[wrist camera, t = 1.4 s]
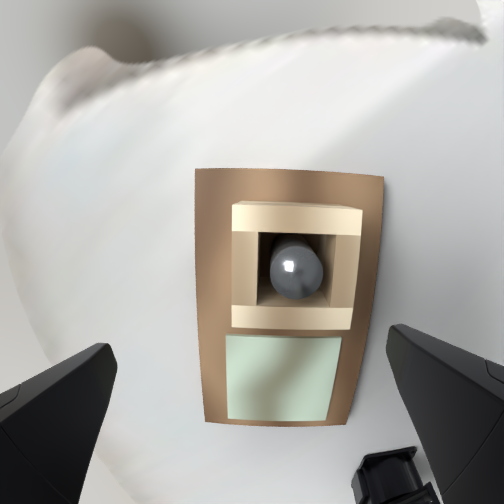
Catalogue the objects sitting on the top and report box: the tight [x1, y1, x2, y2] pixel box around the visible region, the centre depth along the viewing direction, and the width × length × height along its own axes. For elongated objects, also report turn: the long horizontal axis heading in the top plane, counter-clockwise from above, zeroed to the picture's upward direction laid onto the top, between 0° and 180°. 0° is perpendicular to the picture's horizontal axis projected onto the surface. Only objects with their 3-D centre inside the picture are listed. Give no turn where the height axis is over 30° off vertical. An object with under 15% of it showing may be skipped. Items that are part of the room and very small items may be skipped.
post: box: [270, 233, 323, 299], centre depth 16 cm, size 2×2×6 cm
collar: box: [232, 201, 362, 330], centre depth 16 cm, size 6×6×5 cm
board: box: [195, 168, 384, 427], centre depth 20 cm, size 12×20×2 cm, turn 179°
